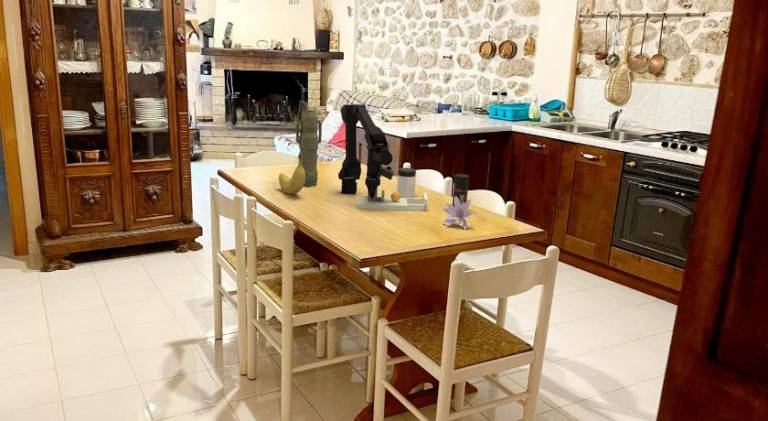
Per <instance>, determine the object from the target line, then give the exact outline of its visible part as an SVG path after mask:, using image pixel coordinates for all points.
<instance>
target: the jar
mask: <svg viewBox="0 0 768 421" xmlns="http://www.w3.org/2000/svg"><path fill="white" fill-rule="evenodd" d="M416 176H417V171H416V169H415V168H410V167H401V168H398V170H397V178H396V180H397V181H396V183H397V184H396V192H398V193H399V194H400V198H407V197H408V198H416V197H415V196H416V195H415V194H416V182H417V181H416V180H417V179H416V178H417V177H416Z"/></svg>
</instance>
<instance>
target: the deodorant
mask: <svg viewBox="0 0 768 421" xmlns="http://www.w3.org/2000/svg"><path fill="white" fill-rule="evenodd" d="M469 181H470V175H468V174H462V173H456V174H454V182H453V192H452V203H451V205H453V206H454V207H455V205H454V198H455V196H456V197H458V199H459V201H460V204H461V205H462V203H464V204H465V203H466V201H468V192H469Z"/></svg>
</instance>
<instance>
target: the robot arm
mask: <svg viewBox="0 0 768 421" xmlns="http://www.w3.org/2000/svg"><path fill="white" fill-rule="evenodd" d="M340 115H341V119H342V121H343V123H344V125H345V126H344V127H345V133H344V134H345V158H344V160H343V161H342V163H341V168H340V171H338V174H337V175H338V176H337V177H338V180H340V181H341V190H340V194H345V195H355V194H356V193H357V192H358V182H357V181H358V180H360V179H361V175H362V162H361V160H359V159H358V158H357V157H358V156H357V155H358V153H357V149H358V147H357V124H358V123H360V125H361V127H362V129H363V130H364V138H365V142H366V144H367V145H366V147H365V148H366V149H367V160H366V162H367V163H366V177H365V180H364V185H365V186H366V189H367V193H368V192H369V194H370V197H371V199H374V195H375V191H376V187H378V188H379V187H380V186H381V180H382V179H381V178H382V177H383V178H385V179H388V180H390V181H391V180H392V179H393V177H394V175H395V172H394V170H392V166H390V165H391V163H392V162H393V159H394V157H393V154H392V153H391V151H389V150H390V148H389V143H388V141H387V138H386V135H385V133H384V131H383V130H382V129H381V127H379V126H377V125H376V124H375V122H374V120H373V119H372V117H371V115H370V113H369V112H368V110H367V106H366V105H365V104H360V103H357V104H346V103H345V104H343V105H342V106H341V108H340ZM384 166H385V167H384Z"/></svg>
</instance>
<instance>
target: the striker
mask: <svg viewBox="0 0 768 421" xmlns="http://www.w3.org/2000/svg"><path fill="white" fill-rule="evenodd" d="M378 188H379V186H378V187H376V191H375V195H374V199H371V197H370V194H369V192H368V191H367V196H368V198H367V201H381V202H384V197H385V189H381V196H378Z"/></svg>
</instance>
